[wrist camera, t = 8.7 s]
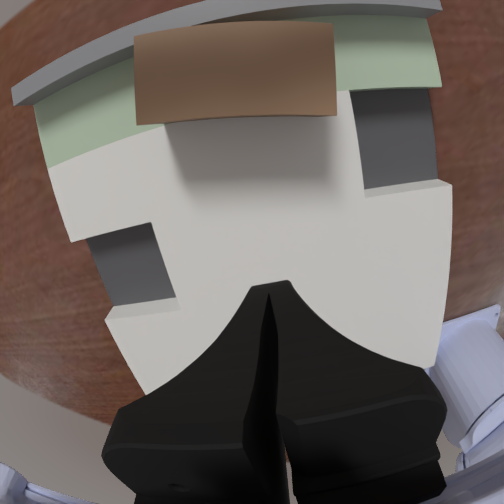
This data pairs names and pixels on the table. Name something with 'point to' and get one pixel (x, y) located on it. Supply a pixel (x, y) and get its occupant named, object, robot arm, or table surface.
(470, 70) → the table surface
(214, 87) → the walnut bar
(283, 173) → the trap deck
